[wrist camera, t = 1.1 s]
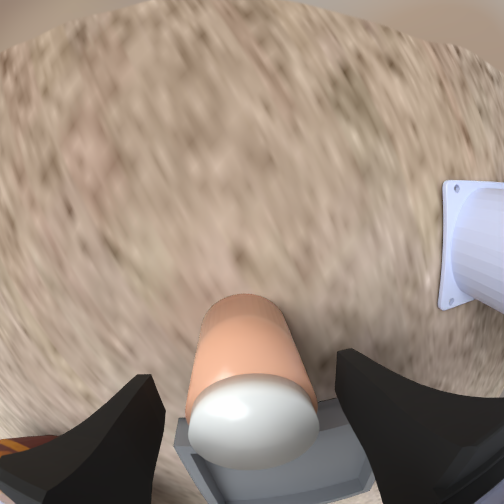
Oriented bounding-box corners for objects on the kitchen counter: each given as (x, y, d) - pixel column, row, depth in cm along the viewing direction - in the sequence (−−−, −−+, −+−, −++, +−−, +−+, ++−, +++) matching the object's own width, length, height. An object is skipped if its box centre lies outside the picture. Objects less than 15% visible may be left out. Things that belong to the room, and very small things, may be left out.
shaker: (283, 288, 13) (329, 376, 6) (288, 361, 14) (321, 461, 7) (193, 299, 13) (163, 395, 6) (209, 371, 14) (200, 475, 7)
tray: (388, 383, 15) (404, 404, 13) (361, 472, 18) (369, 490, 16) (178, 418, 15) (173, 446, 12) (217, 497, 18) (217, 517, 15)
